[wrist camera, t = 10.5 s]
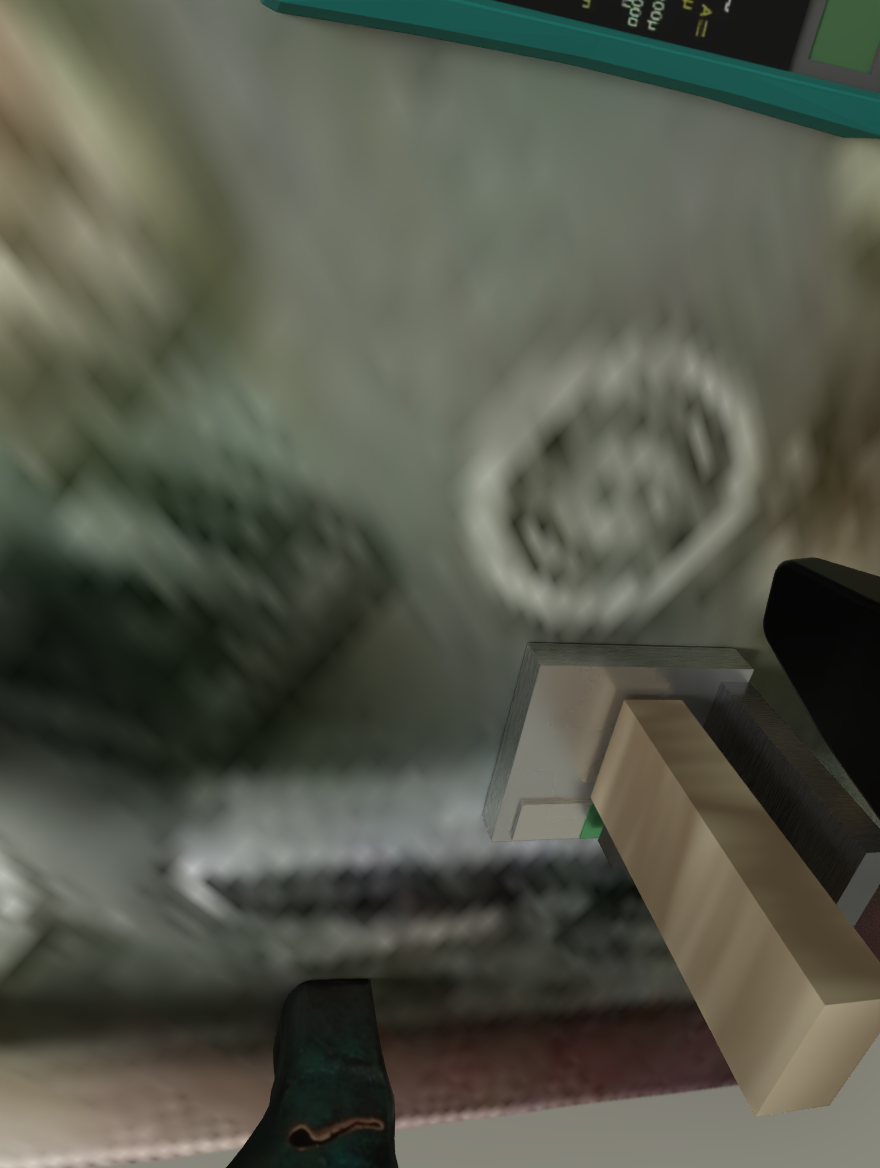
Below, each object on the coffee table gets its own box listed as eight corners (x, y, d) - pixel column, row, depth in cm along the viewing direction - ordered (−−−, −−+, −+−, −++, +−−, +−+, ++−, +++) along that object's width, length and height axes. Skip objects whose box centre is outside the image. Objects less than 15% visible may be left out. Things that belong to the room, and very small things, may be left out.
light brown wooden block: (576, 836, 27) (728, 1160, 19) (623, 699, 25) (825, 1005, 16) (643, 834, 28) (817, 1145, 20) (695, 700, 25) (924, 993, 17)
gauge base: (482, 815, 28) (562, 1046, 21) (527, 642, 25) (641, 850, 18) (668, 809, 30) (797, 1018, 23) (734, 648, 27) (908, 836, 20)
